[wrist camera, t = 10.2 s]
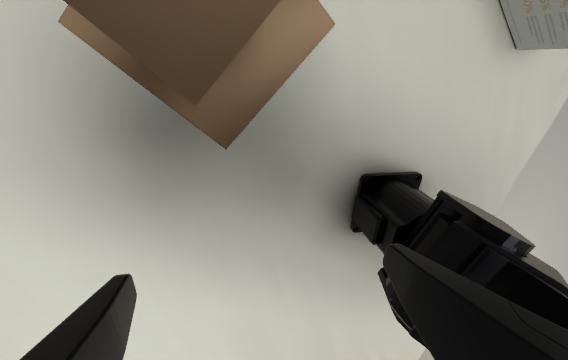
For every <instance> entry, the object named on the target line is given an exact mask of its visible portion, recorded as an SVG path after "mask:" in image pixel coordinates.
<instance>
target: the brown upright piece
mask: <svg viewBox="0 0 568 360" xmlns="http://www.w3.org/2000/svg"><path fill="white" fill-rule="evenodd" d="M63 1H65V2H66V3H67V4H68V6H67V8H66V9H65V11H64V12H63V14H62V16H61V17H60V19H59V21H58V22H59V23H61V24H62V25H63V26H64V27H66V28H67V29H68V30H70V31H71V32H72V33H74V34H75V35H76V36H78V37H79V38H80V39H82V40H83V41H84V42H85V43H87V44H88V45H89V46H91V47H92V48H93V49H95V50H96V51H97V52H99V53H100V54H101V55H103V56H104V57H105V58H106V59H108V60H109V61H110V62H112V63H113V64H114V65H116V66H117V67H118V68H120V69H121V70H122V71H124V72H125V73H126V74H127V75H129V76H130V77H131V78H133V79H134V80H135V81H137V82H138V83H139V84H141V85H142V86H143V87H145V88H146V89H147V90H148V91H150V92H151V93H152V94H154V95H155V96H156V97H158V98H159V99H160V100H162V101H163V102H164V103H166V104H167V105H168V106H170V107H171V108H172V109H173V110H175V111H176V112H177V113H179V114H180V115H181V116H183V117H184V118H185V119H187V120H188V121H189V122H191V123H192V124H193V125H194V126H196V127H197V128H198V129H200V130H201V131H202V132H204V133H205V134H206V135H208V136H209V137H210V138H212V139H213V140H214V141H215V142H217V143H218V144H219V145H221V146H222V147H223V148H225V149H227V148H228V146H229V145H230V144H231V143H232V142H233V141H234V140H235V138H236V137H237V136H238V135H239V134H240V133H241V132H242V130H243V129H244V128H245V127H246V126H247V125H248V124H249V122H250V121H251V120H252V119H253V118H254V117H255V116H256V114H257V113H258V112H259V111H260V110H261V109H262V108H263V106H264V105H265V104H266V103H267V102H268V101H269V100H270V98H271V97H272V96H273V95H274V94H275V93H276V92H277V90H278V89H279V88H280V87H281V86H282V85H283V84H284V82H285V81H286V80H287V79H288V78H289V77H290V76H291V74H292V73H293V72H294V71H295V70H296V69H297V68H298V66H299V65H300V64H301V63H302V62H303V61H304V60H305V58H306V57H307V56H308V55H309V54H310V53H311V52H312V50H313V49H314V48H315V47H316V46H317V45H318V44H319V42H320V41H321V40H322V39H323V38H324V37H325V36H326V34H327V33H328V32H329V31H330V30H331V29H332V28H333V26H334V25H335V23H334V21H333V20H332V18H331V17H330V16H329V14H328V13H327V12H326V10H325V9H324V7H323V6H322V5H321V3H320V2H319V1H318V0H63Z"/></svg>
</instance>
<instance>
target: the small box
mask: <svg viewBox="0 0 568 360" xmlns="http://www.w3.org/2000/svg"><path fill="white" fill-rule="evenodd" d="M500 3H501V5H502V8H503V11H504V14H505V17H506V20H507V23H508V25H509V28H510V31H511V34H512V36H513V39H514V42H515V45H516V48H517V49H518V50H529V49H568V0H500Z"/></svg>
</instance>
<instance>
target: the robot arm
mask: <svg viewBox="0 0 568 360" xmlns="http://www.w3.org/2000/svg"><path fill="white" fill-rule="evenodd" d="M416 177H417V178H416ZM367 178H368V179H367ZM415 178H416V179H415ZM366 179H367V181H365V180H366ZM421 180H422V175H421V174H420V173H418V172H407V173H384V174H365V175H363V176H362V177H361V179H360V183H359V188H358V193H357V196H356V198H355V203H354V208H353V213H352V222H351V230H352V231H353V232H363V233H364V234H365V236H366V237H367V238H368V239H369V241H370V242H371V243H372V244H373V245H375V244H376V245H377V246H378V247H379V248H380V250H381V251H382V252H383V253H384V258H383V266H384V267H383V268H381V269H380V270H379V272H378V275H379V278H380V280H381V283H382V286H383V288H384V291H385V293H386V296H387V299H388V301H389V304H390V306H391V309H392V311H393V313H394V315H395V317H396V319H397V321H398V322H399V323H400V324H401V325H402V326H403V327H404V328H405V329H406V330H407V331H408V332H409V334H410V335H411V336H412V337H413V338H414V339H415V340H417V341H418V342H419V343H421V344H422V345H423V346H425V347H426V348H427V349H428V350H429V351H430V352H431V354H432V356H433V358H434V359H435V360H568V284H567V283H566V281H565V280H564V279H563V277H562V276H561V274H560V273H559V272H558V271H557V270H555V269H554V268H553V267H551V266H549V265H548V264H546V263H544V262H543V261H541V260H540V259H538V258H536V257H535V256H533V255H531V254H530V253H529V252H530V251H531V250H532V249H533V248H534V247H535V245H534V244H532V243H531V242H530V241H529V240H527V239H526V238H525V237H523V236H522V235H521V234H519V233H518V232H517V231H516V230H514V229H513V228H512V227H510V226H509V225H508V224H506V223H505V222H503V221H502V220H500V219H498V218H496V217H494V216H493V215H491V214H489V213H487V212H486V211H484V210H482V209H480V208H479V207H477V206H475V205H473V204H470V203H468V202H466V201H464V200H462V199H460V198H458V197H455V196H453V195H451V194H449V193H447V192H445V191H443V190H440V191H439V193H438V194H437V195H436V196H437V198H436V199H435V200H433V199H432V198H430V197H429V196H427V195H426V194H424V193H423V192H422V191H420V190H419V186H420V183H421ZM355 227H356V228H355ZM136 297H137V294H136V289H135V286H134V282H133V279H132V276H131V275H130V274H122V275H116V276H114V277H113V278H111V279H110V280H109V281H108V282H107V283H106V284H105V285H104V286H102V287H101V288H100V289H99V290H98V291H97V292H96V293H95V294H93V295H92V296H91V297H90V298H89V299H88V300H87V301H85V302H84V303H83V304H82V305H81V306H80V307H79V308H78V309H76V310H75V311H74V312H73V313H72V314H71V315H70V316H69V317H67V318H66V319H65V320H64V321H63V322H62V323H61V324H59V325H58V326H57V327H56V328H55V329H54V330H53V331H52V332H50V333H49V334H48V335H47V336H46V337H45V338H44V339H42V340H41V341H40V342H39V343H38V344H37V345H36V346H35V347H33V348H32V349H31V350H30V351H29V352H28V353H27V354H26V355H24V356H23V357H22V358H21V359H20V360H123V357H124V353H125V350H126V345H127V341H128V336H129V332H130V327H131V322H132V317H133V313H134V308H135V303H136Z"/></svg>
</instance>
